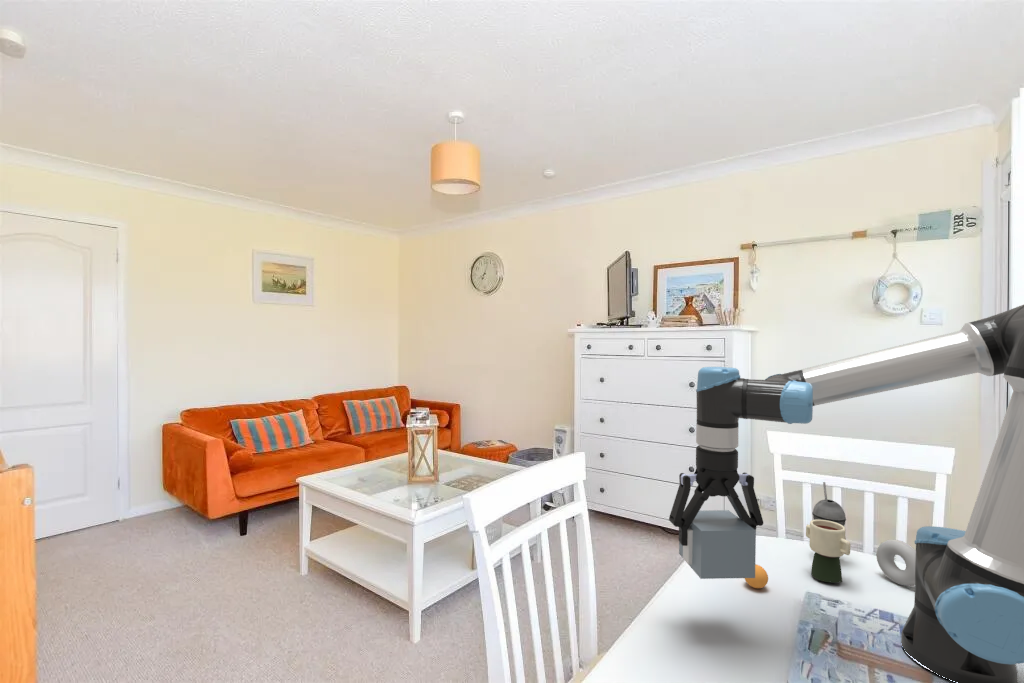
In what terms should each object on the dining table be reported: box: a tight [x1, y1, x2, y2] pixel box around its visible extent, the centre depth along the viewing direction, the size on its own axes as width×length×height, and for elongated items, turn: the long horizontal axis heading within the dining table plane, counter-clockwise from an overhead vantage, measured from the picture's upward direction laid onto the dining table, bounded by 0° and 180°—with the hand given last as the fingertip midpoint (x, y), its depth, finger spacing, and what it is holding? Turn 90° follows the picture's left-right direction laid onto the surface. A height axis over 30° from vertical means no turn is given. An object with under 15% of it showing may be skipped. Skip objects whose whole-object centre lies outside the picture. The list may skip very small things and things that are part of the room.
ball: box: [744, 563, 769, 589], centre depth 111 cm, size 5×5×5 cm
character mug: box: [805, 519, 851, 583], centre depth 115 cm, size 11×7×13 cm, turn 19°
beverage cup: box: [812, 481, 847, 559], centre depth 124 cm, size 7×7×20 cm
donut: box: [876, 539, 916, 587], centre depth 113 cm, size 10×3×10 cm, turn 18°
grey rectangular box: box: [678, 509, 757, 580], centre depth 94 cm, size 10×10×9 cm
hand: (715, 560), depth 94 cm, fingers closed on grey rectangular box, 10 cm apart
